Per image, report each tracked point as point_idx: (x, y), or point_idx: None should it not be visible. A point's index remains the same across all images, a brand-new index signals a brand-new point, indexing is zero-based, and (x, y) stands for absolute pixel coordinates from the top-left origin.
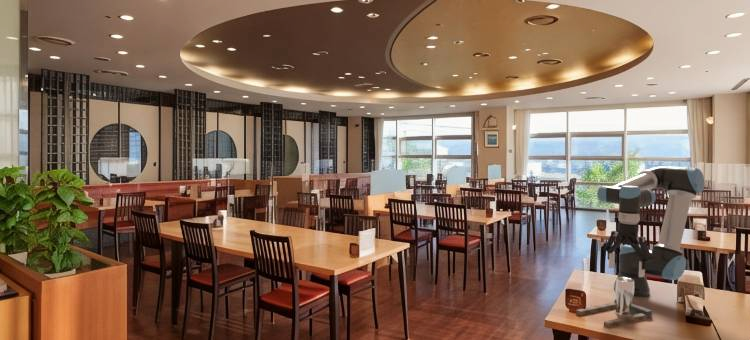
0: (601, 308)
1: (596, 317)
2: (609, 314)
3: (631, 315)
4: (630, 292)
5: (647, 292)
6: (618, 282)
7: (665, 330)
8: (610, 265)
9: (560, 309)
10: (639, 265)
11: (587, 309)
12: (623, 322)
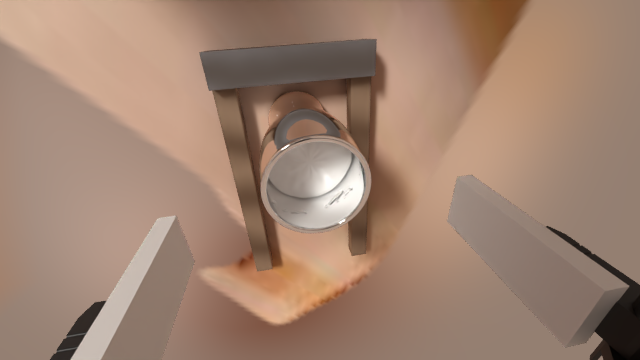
0: (255, 185)
1: None
2: None
3: None
4: (352, 166)
5: None
6: (307, 222)
7: (449, 104)
8: (187, 279)
9: (215, 280)
10: (524, 298)
11: (262, 242)
12: None
